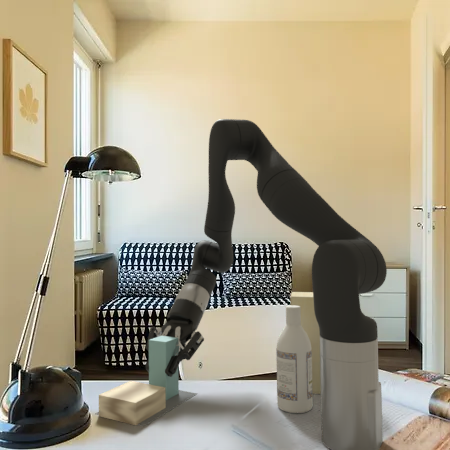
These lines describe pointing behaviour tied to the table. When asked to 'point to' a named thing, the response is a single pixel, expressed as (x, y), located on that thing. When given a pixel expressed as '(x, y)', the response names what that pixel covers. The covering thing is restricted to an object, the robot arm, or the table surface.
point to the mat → (169, 405)
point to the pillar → (162, 364)
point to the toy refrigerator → (310, 332)
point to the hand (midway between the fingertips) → (158, 372)
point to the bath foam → (294, 365)
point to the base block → (132, 402)
